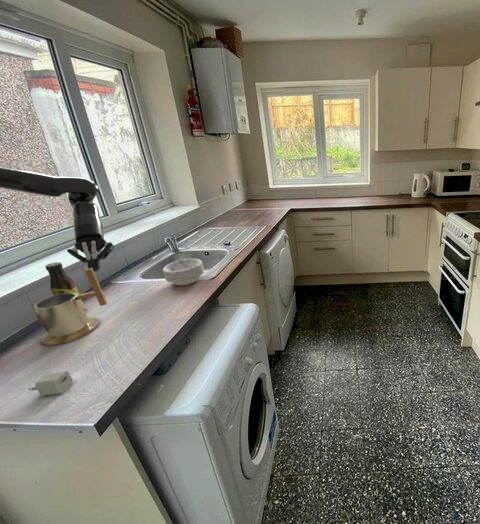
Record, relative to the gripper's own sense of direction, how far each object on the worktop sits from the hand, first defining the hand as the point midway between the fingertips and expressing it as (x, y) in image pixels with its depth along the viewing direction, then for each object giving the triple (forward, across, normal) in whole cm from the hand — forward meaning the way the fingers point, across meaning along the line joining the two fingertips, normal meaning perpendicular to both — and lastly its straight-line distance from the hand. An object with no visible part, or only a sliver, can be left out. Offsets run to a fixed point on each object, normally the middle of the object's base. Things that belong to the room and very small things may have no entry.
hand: (94, 270), depth 98 cm
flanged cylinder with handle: (+16, -7, +7) cm, 19 cm away
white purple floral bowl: (+2, +25, +22) cm, 33 cm away
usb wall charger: (+39, -7, -14) cm, 42 cm away
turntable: (+17, -10, +7) cm, 21 cm away
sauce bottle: (+7, -12, +18) cm, 22 cm away
